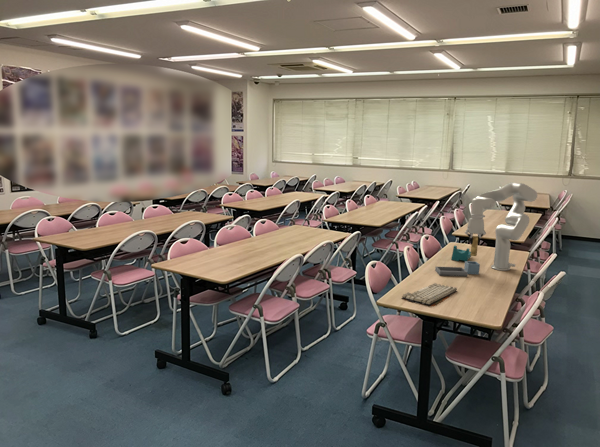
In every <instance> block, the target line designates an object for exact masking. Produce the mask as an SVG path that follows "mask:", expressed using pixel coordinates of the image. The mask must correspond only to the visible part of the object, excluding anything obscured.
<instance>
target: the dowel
mask: <svg viewBox="0 0 600 447" xmlns="http://www.w3.org/2000/svg"><path fill="white" fill-rule="evenodd" d="M472 238H473V242H472V244H470V252H471V254H470V255H471V257H477V255H478V245H479V244H478V235H473V236H472Z"/></svg>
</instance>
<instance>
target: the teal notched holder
mask: <svg viewBox="0 0 600 447" xmlns="http://www.w3.org/2000/svg"><path fill="white" fill-rule="evenodd" d="M470 254H471V250H470V248H468V247H467V248H466V250H465V249H460V248H458V247H457V245H454V246H453V250H452V254H451V259H450V260H451V261H456V262H459V261H463V262H465V261H469V259H470V258H471V257H472V256H471V255H470Z"/></svg>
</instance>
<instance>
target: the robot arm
mask: <svg viewBox="0 0 600 447" xmlns="http://www.w3.org/2000/svg"><path fill="white" fill-rule="evenodd" d="M510 197H512V200H513V201H512V202H513V203H512V206H511V208H510V210H509V211H508V213H507V214H506V215H505V219H504V222H505V224H504V223H501V224H498V225H497V226H496V227H495V248H494V257H493V264H491V265H490V268H491V269H493V270H497V271H505V272H507V271H510V270H511V267H516V264H515V263H510V251H511V241H518V240H519V239H520V238H521V237H522V236H523V234H524V233H525V231H526V230H527V228H528V226H529V224H530V217H529V216H528V214H525V211H526V205H525V202H534V201H536V200H537V198H538V192H537V190H536V189H534V188H532V187H531V186H529V185H527V184H525V183H522V182H521V183H520V182H509V183H506V184H505V185H503V186H501V187H500V188H497V189H494V190H490V191H486V192H484V193H483V192H482V193H481V194H479V195H477V196H476V197H474V198H472V199H471V208H470V209H471V212H470V218H468V222H467V227H466V230H465V231H464V234H465V235H467V237H468V238H469V241H468V242H469V244H470V245H471V244H472V242H473V238H472V236H474V235H476V234H477V236H478V245H479V244H480V243H481V239H482V238H483V237H484V236H485V235H487V233H486V231H485V220H484V218H485V217H486V215H484V210H492V209H494V208H495V207H496V202H503V201H506V200H507V199H509V198H510ZM510 240H511V241H510Z"/></svg>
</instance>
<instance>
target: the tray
mask: <svg viewBox="0 0 600 447" xmlns="http://www.w3.org/2000/svg"><path fill="white" fill-rule="evenodd" d="M434 271H435V273H437V275H438V276H439V277H464V278H465V277H467V278H468V274H467V273H468V272H467V271H466V270H464V268H463V267H461V266H459V267H458V266H457V267H456V266H436V265H435V269H434Z"/></svg>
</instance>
